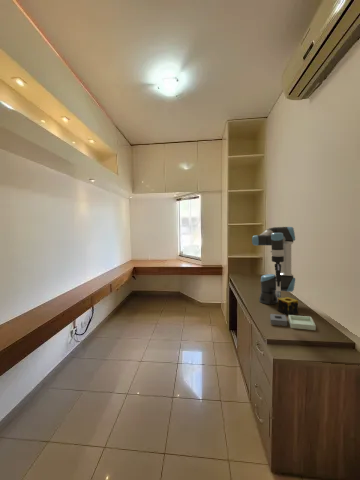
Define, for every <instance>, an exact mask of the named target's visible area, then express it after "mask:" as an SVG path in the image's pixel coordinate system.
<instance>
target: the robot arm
mask: <svg viewBox="0 0 360 480" xmlns="http://www.w3.org/2000/svg"><path fill="white" fill-rule="evenodd" d="M294 241H296V235H295V228H294V227H293V226H276V227H275V226H274V227H269V228H267V229H265V230H263V231H262V233H260V234H256V235H253V236H252V238H251V244H252V245H253V246H271V250H270V253H271V255H272V256H271V262H273V263H274V270H275V274H272V273H266V274H264V275H261V277H260V295H259V297H258V299H259V300H258V301H259V302H260V303H262V304H265V305H276V304H278V299H279V297H276V291H281V292H291V293H292V292H294V290H295V285H296V278H295V277H294V274H293V273H292V245H293V244H294Z"/></svg>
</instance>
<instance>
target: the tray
mask: <svg viewBox="0 0 360 480" xmlns="http://www.w3.org/2000/svg"><path fill="white" fill-rule="evenodd" d="M287 316H288V322H289V325H290V328H291V329H299V330H309V331H316V330H317V329H316V328H317V325H316V323H315V321H314V319H313V318H312V316H309V315H307V316H306V315H304V316H303V315H296V314H293V315H287Z"/></svg>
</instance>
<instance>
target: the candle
mask: <svg viewBox="0 0 360 480" xmlns="http://www.w3.org/2000/svg"><path fill="white" fill-rule="evenodd" d="M277 304H278V306H277V312H280V313H281V314H282V315H286V316H288V315H296V314H299V300H298V299H295V298H292V297H289V296H285V297H278V303H277Z"/></svg>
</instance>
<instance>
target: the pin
mask: <svg viewBox="0 0 360 480" xmlns="http://www.w3.org/2000/svg"><path fill="white" fill-rule="evenodd" d="M275 291H276V290H275ZM281 296H282V291H276V297H277V298H282V297H281Z"/></svg>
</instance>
